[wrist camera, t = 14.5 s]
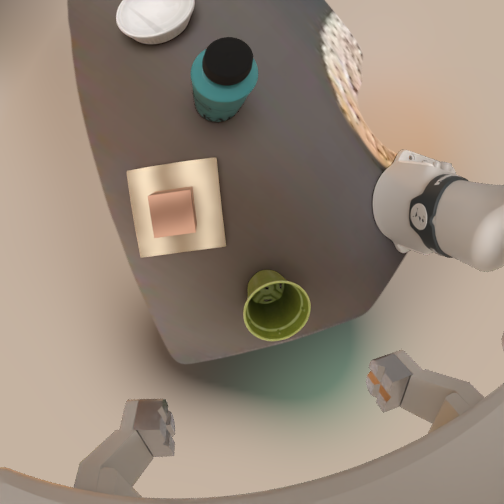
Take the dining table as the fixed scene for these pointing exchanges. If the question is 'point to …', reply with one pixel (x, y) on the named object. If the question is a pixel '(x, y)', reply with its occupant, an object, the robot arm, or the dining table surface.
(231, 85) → the beverage bottle
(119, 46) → the dining table surface
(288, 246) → the dining table surface
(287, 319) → the plant pot
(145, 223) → the birch base
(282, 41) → the dining table surface
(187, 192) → the terracotta cube
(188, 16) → the ramekin
